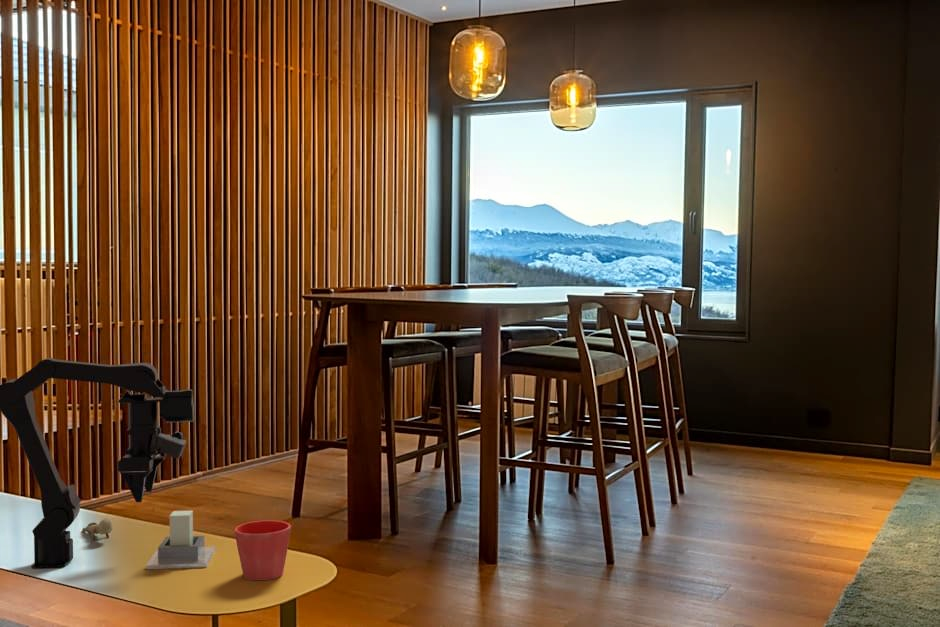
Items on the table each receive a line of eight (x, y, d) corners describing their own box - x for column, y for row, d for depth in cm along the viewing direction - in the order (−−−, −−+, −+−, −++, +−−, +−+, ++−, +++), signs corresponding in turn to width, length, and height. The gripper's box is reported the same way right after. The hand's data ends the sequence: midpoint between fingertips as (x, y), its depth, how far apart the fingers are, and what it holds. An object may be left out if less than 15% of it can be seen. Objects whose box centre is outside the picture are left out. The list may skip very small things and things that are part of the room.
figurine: (79, 541, 216) (101, 540, 205) (78, 521, 216) (99, 519, 205) (95, 538, 218) (118, 537, 207) (94, 518, 219) (116, 516, 208)
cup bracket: (145, 569, 189) (145, 550, 189) (158, 551, 201) (158, 534, 200) (206, 567, 190) (206, 548, 190) (215, 549, 202) (215, 532, 202)
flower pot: (235, 568, 189) (234, 521, 189) (289, 564, 192) (289, 518, 192) (234, 585, 179) (234, 535, 179) (292, 581, 182) (291, 532, 181)
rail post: (170, 558, 193) (169, 515, 193) (173, 553, 197) (173, 511, 197) (189, 558, 194) (189, 515, 193) (193, 552, 198) (192, 510, 197)
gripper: (173, 429, 187) (174, 506, 188) (190, 416, 205) (191, 485, 206) (116, 430, 186) (117, 508, 186) (138, 416, 204) (139, 487, 205)
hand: (144, 496), depth 196 cm, fingers open, 9 cm apart
